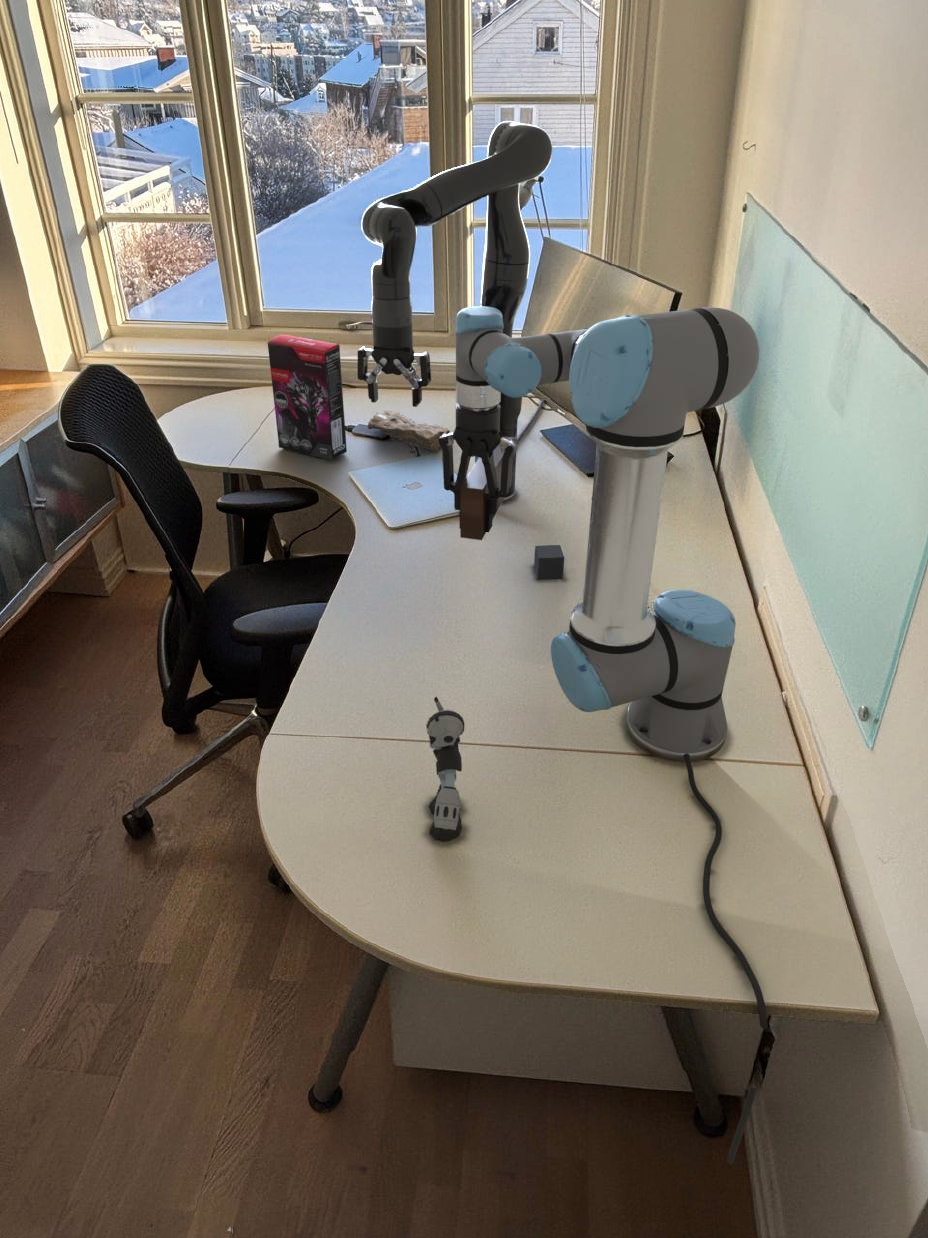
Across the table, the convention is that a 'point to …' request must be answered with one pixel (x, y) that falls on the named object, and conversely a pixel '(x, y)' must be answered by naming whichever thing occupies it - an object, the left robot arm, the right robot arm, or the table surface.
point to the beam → (478, 497)
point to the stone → (407, 429)
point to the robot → (446, 772)
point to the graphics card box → (308, 395)
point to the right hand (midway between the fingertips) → (476, 526)
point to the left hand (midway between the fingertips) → (395, 403)
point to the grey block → (549, 562)
